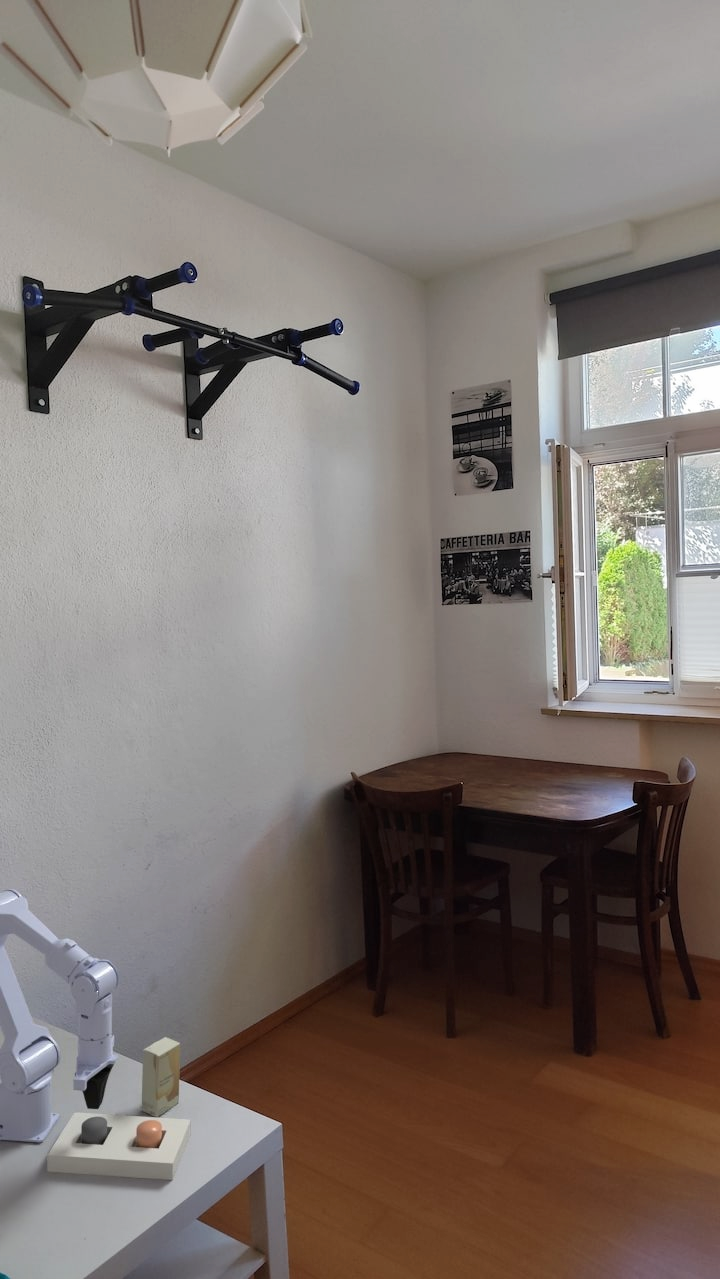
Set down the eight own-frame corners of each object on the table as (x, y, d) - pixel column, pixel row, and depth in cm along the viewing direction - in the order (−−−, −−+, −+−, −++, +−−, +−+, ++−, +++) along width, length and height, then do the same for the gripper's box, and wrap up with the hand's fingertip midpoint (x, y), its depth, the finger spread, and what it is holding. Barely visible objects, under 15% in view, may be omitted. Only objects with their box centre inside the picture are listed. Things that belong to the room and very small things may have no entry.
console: (47, 1171, 148) (47, 1154, 148) (74, 1127, 160) (74, 1112, 160) (172, 1180, 147) (172, 1163, 146) (190, 1135, 159) (190, 1119, 158)
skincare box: (156, 1118, 163) (157, 1057, 162) (140, 1110, 165) (141, 1049, 165) (180, 1102, 169) (181, 1042, 168) (164, 1094, 171) (165, 1035, 170)
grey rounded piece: (77, 1147, 151) (77, 1131, 151) (86, 1131, 156) (86, 1115, 155) (101, 1149, 151) (101, 1132, 151) (110, 1133, 155) (110, 1117, 155)
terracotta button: (132, 1151, 151) (133, 1134, 150) (140, 1135, 155) (140, 1119, 155) (157, 1152, 150) (157, 1136, 150) (164, 1136, 155) (164, 1120, 155)
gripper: (102, 1056, 145) (101, 1133, 145) (130, 1013, 159) (129, 1083, 160) (61, 1053, 145) (61, 1130, 146) (93, 1011, 159) (92, 1081, 160)
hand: (94, 1105), depth 153 cm, fingers closed
